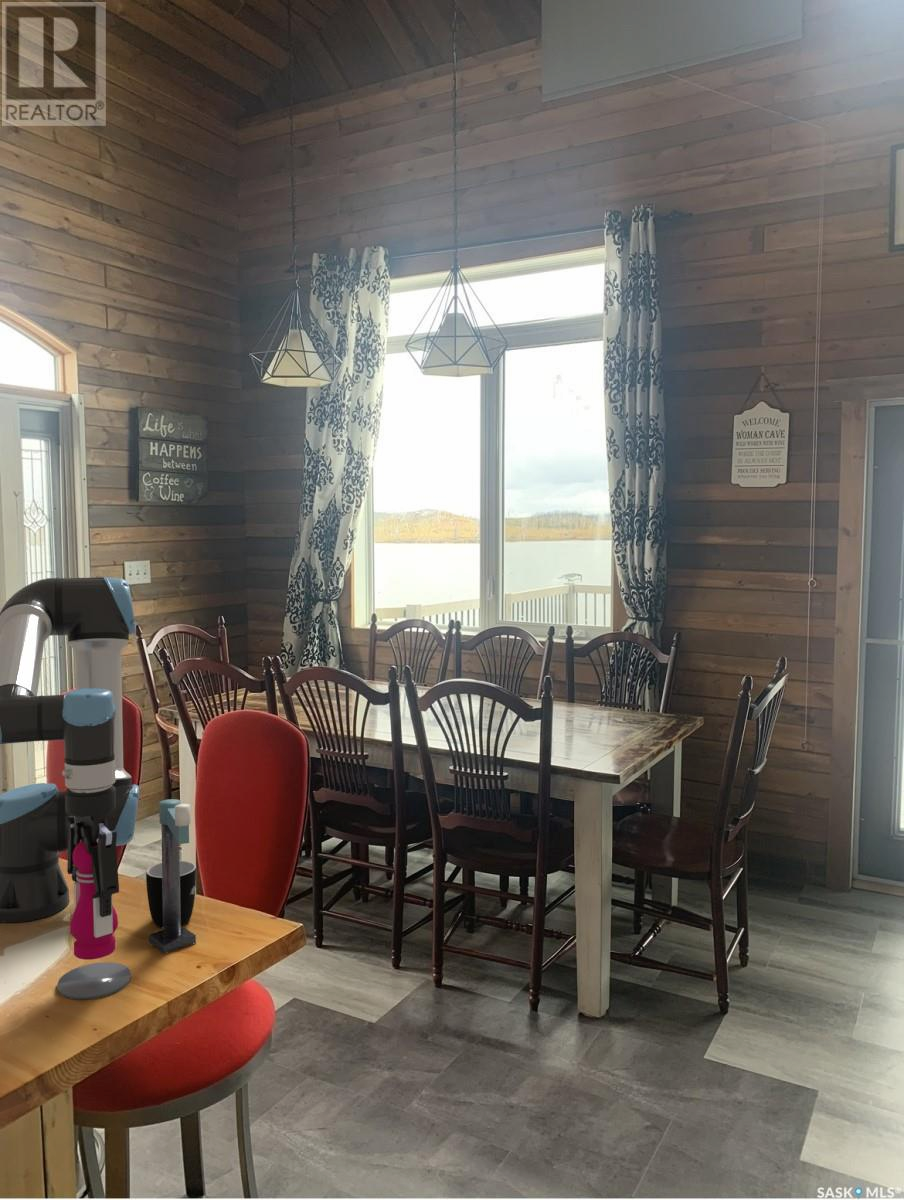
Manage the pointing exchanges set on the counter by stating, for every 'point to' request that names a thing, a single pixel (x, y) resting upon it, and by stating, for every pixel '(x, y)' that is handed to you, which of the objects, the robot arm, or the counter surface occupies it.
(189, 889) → the mug
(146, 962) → the counter surface
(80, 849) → the pepper mill
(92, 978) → the slate coaster
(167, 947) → the post
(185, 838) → the pegged blue crossbar
